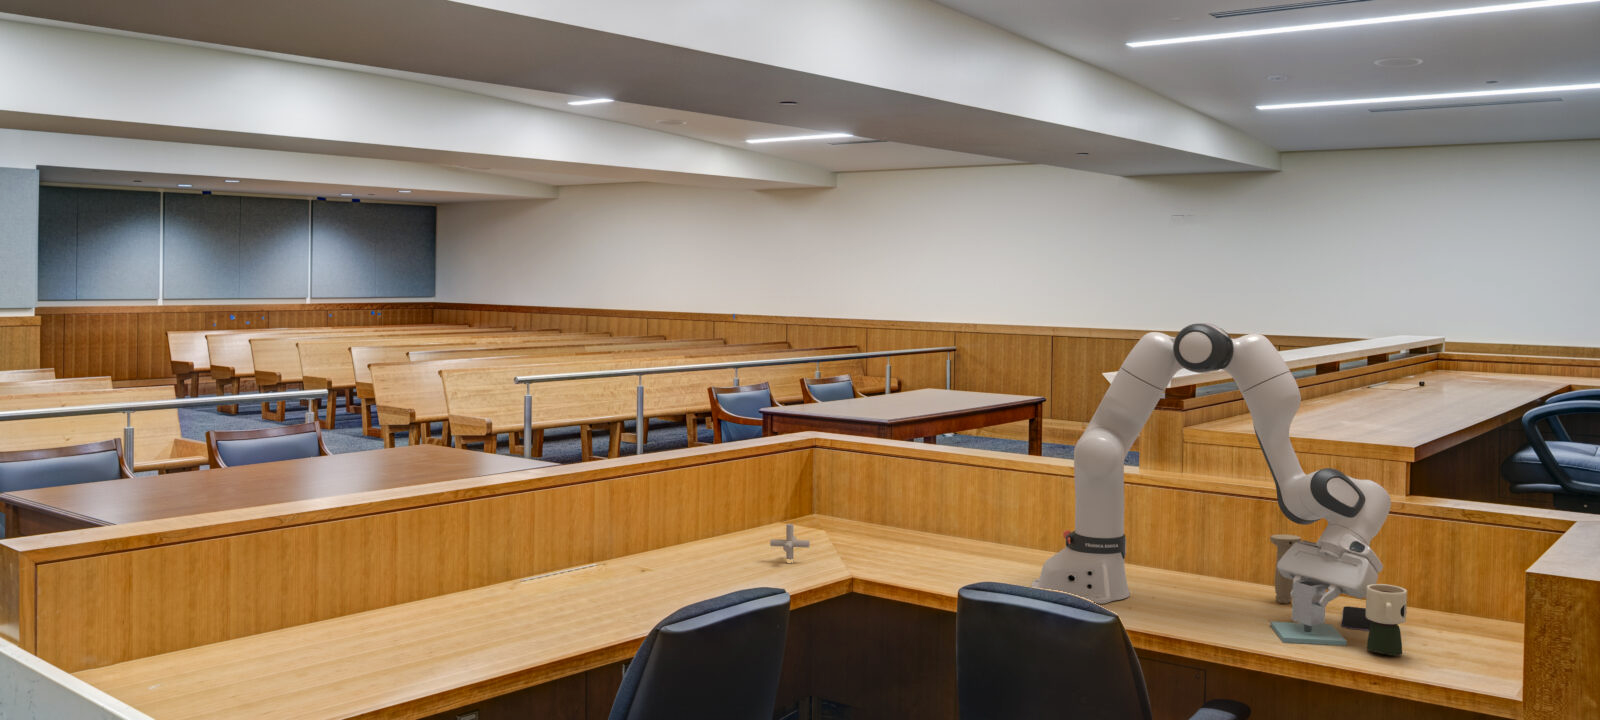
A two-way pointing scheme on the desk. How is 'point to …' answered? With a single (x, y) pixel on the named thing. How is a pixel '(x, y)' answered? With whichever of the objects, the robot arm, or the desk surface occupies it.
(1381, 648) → the character mug
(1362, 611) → the smartphone
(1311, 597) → the grey hollow box
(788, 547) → the pipe connector
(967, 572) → the desk surface
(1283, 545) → the handle
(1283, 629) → the post base
